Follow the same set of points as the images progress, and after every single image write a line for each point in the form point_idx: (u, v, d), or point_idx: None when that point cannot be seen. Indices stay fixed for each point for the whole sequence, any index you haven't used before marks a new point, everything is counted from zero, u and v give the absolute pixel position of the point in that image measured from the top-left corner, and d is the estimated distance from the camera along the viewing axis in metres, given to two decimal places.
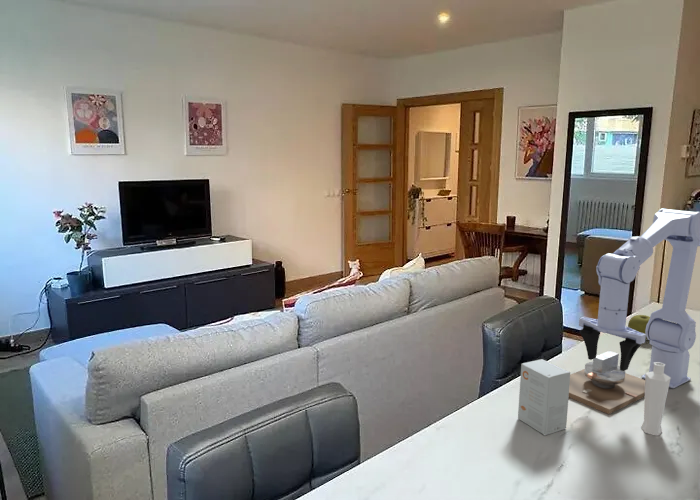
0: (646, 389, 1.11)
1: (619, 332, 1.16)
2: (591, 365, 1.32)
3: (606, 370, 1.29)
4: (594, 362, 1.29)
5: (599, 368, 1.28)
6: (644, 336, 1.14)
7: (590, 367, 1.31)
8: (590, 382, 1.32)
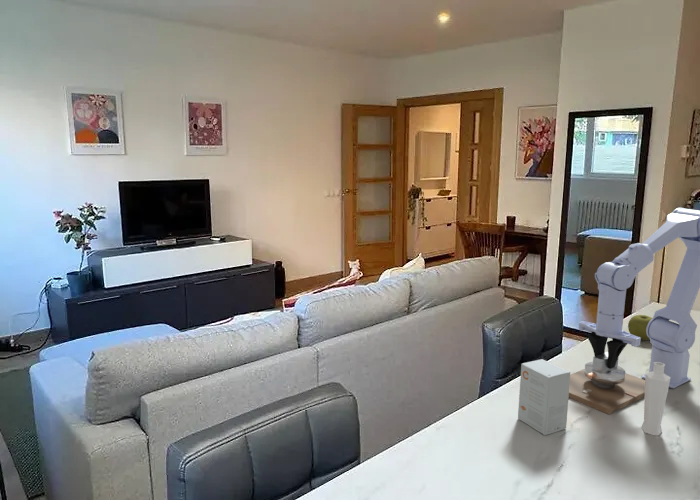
0: (646, 389, 1.11)
1: (616, 335, 1.25)
2: (591, 365, 1.32)
3: (606, 370, 1.29)
4: (594, 362, 1.29)
5: (599, 368, 1.28)
6: (639, 339, 1.23)
7: (590, 367, 1.31)
8: (590, 382, 1.32)
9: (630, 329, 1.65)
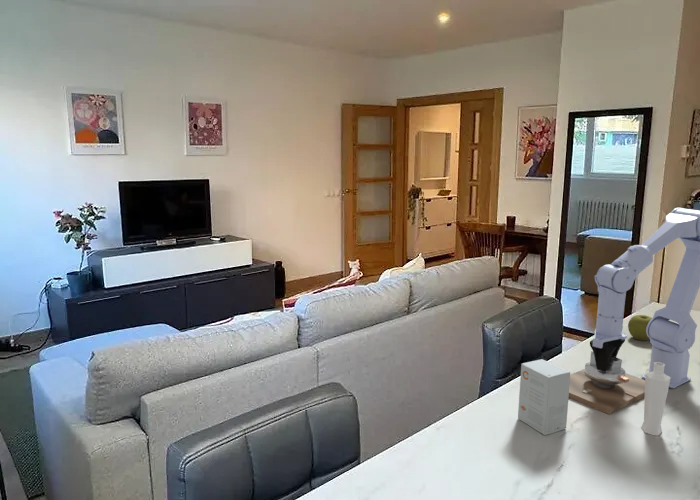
0: (646, 389, 1.11)
1: None
2: (598, 372, 1.29)
3: None
4: (615, 366, 1.27)
5: (619, 369, 1.27)
6: None
7: (604, 373, 1.28)
8: (590, 382, 1.32)
9: (630, 329, 1.65)
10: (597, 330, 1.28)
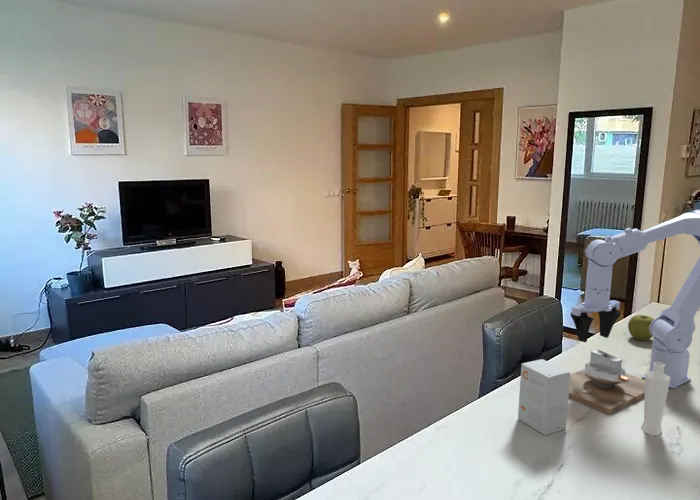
0: (646, 389, 1.11)
1: (612, 305, 1.34)
2: (598, 372, 1.29)
3: None
4: (615, 366, 1.27)
5: (619, 369, 1.27)
6: None
7: (605, 373, 1.28)
8: (590, 382, 1.32)
9: (630, 329, 1.65)
10: (584, 301, 1.36)
